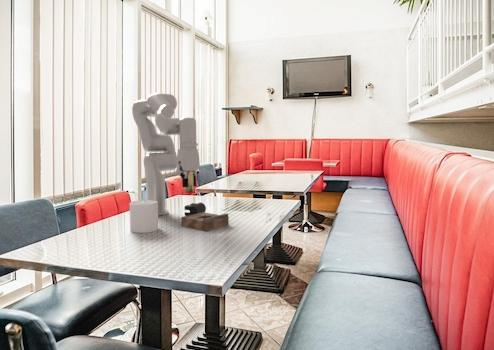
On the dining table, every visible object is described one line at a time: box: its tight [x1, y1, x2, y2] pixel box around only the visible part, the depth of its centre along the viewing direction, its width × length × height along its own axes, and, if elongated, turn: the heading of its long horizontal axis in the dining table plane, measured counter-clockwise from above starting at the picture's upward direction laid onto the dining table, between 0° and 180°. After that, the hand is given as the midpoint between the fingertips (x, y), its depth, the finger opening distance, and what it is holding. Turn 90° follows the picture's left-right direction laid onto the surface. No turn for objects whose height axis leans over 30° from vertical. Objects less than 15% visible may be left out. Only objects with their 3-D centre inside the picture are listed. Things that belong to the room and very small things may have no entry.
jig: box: [180, 211, 230, 232], centre depth 173 cm, size 16×14×5 cm
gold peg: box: [184, 170, 195, 194], centre depth 172 cm, size 4×4×10 cm
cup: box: [129, 199, 159, 234], centre depth 165 cm, size 12×12×12 cm
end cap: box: [184, 202, 207, 216], centre depth 191 cm, size 10×7×7 cm
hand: (189, 186), depth 172 cm, fingers closed on gold peg, 4 cm apart
